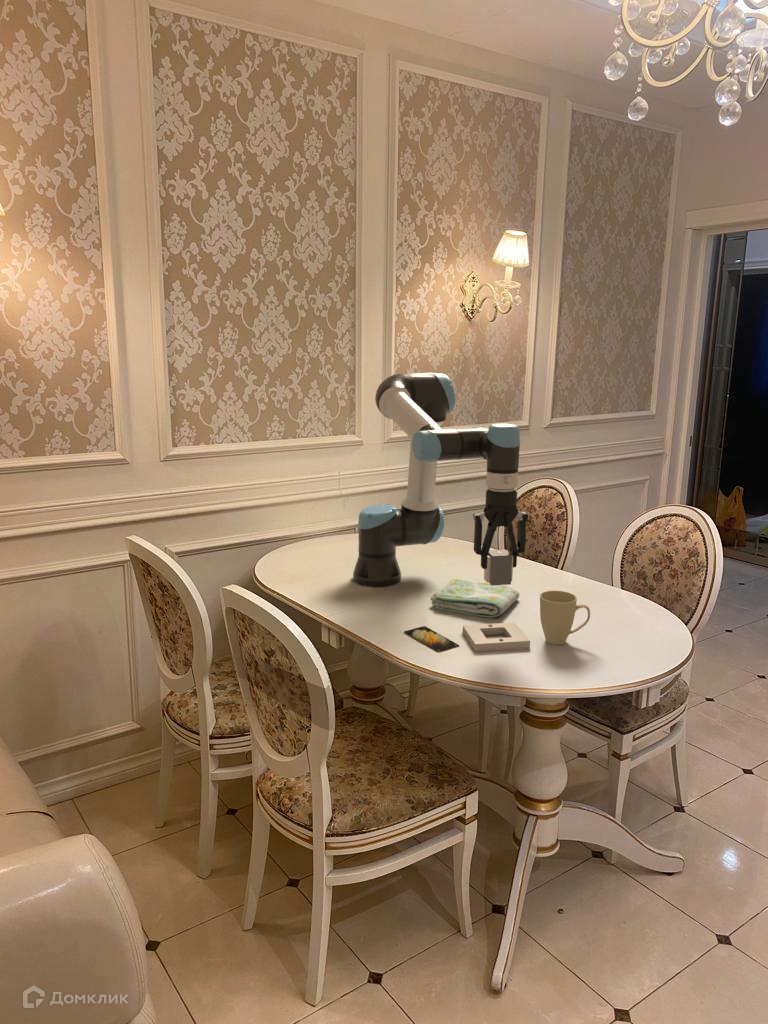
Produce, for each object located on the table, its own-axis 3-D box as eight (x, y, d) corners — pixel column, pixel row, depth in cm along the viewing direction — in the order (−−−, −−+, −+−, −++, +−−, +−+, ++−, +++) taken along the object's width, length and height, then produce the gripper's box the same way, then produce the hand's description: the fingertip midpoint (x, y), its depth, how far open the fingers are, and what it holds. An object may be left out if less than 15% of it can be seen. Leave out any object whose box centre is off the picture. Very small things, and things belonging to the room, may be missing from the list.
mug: (553, 652, 182) (556, 606, 179) (530, 637, 191) (532, 593, 188) (589, 645, 186) (593, 600, 183) (565, 630, 195) (568, 587, 192)
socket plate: (462, 632, 194) (462, 624, 193) (514, 629, 196) (514, 621, 195) (475, 651, 182) (475, 643, 182) (529, 648, 184) (530, 640, 184)
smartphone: (438, 652, 182) (402, 631, 194) (438, 654, 182) (402, 633, 194) (460, 645, 185) (424, 625, 198) (460, 648, 186) (424, 627, 198)
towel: (452, 589, 227) (452, 574, 226) (519, 601, 218) (520, 584, 217) (428, 609, 211) (429, 592, 210) (500, 622, 202) (501, 604, 201)
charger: (485, 579, 187) (486, 549, 185) (504, 578, 188) (505, 549, 186) (491, 585, 182) (492, 555, 181) (510, 584, 183) (512, 554, 181)
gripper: (469, 493, 175) (466, 586, 180) (542, 490, 177) (538, 583, 183) (461, 486, 182) (459, 577, 187) (532, 484, 185) (527, 573, 190)
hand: (498, 580), depth 185 cm, fingers closed on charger, 5 cm apart
